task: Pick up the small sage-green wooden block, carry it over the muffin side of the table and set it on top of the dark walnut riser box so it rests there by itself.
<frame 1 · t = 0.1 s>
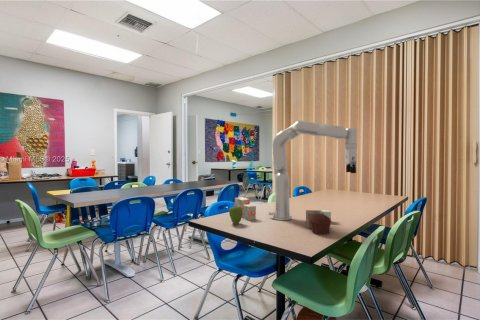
hand: (350, 172, 178), 31 cm above the table, tool pointing down, fingers open, 9 cm apart
sage block: (325, 221, 174), on the table
riser box: (314, 226, 162), on the table
muffin: (320, 233, 150), on the table
stack of blocks: (244, 217, 190), on the table
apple: (235, 224, 171), on the table
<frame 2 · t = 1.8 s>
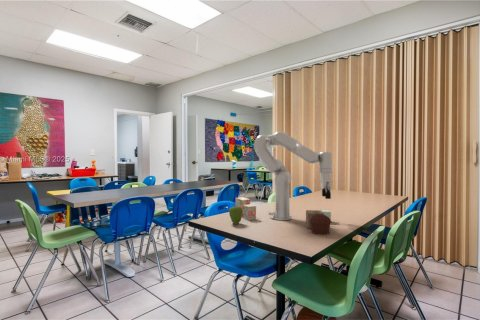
hand: (326, 197, 174), 16 cm above the table, tool pointing down, fingers open, 9 cm apart
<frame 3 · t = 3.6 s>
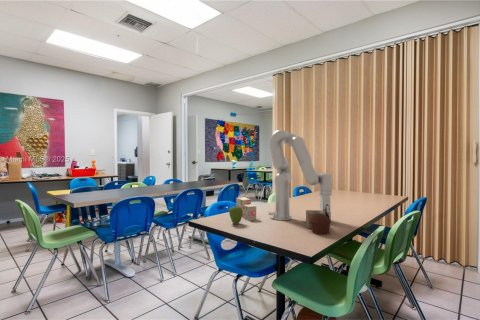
hand: (325, 220, 174), 1 cm above the table, tool pointing down, fingers closed on sage block, 5 cm apart
sage block: (325, 221, 174), on the table, touching gripper
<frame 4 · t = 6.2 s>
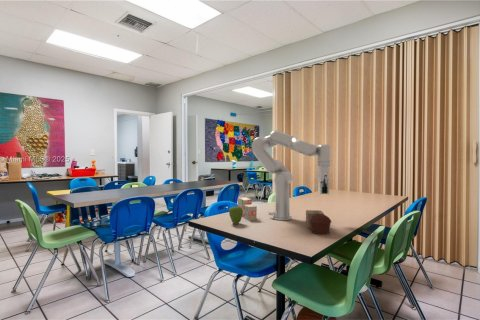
hand: (323, 192, 172), 19 cm above the table, tool pointing down, fingers closed on sage block, 5 cm apart
sage block: (323, 193, 172), point 18 cm above the table, touching gripper
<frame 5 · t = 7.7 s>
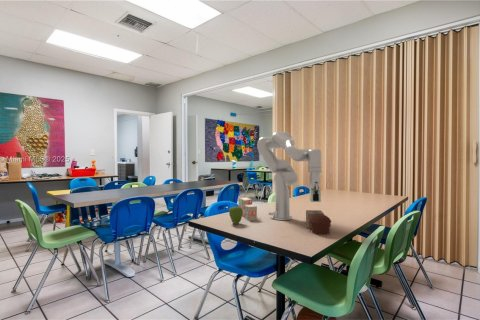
hand: (315, 199, 161), 16 cm above the table, tool pointing down, fingers closed on sage block, 5 cm apart
sage block: (315, 201, 161), point 16 cm above the table, touching gripper
when the fingers open (11 cm above the table, at t = 9.0 s): sage block drops 1 cm, resting on riser box.
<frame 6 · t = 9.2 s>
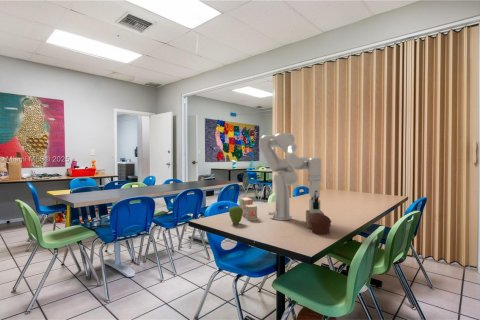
hand: (314, 207, 162), 12 cm above the table, tool pointing down, fingers open, 7 cm apart
sage block: (314, 211, 162), point 9 cm above the table, touching riser box
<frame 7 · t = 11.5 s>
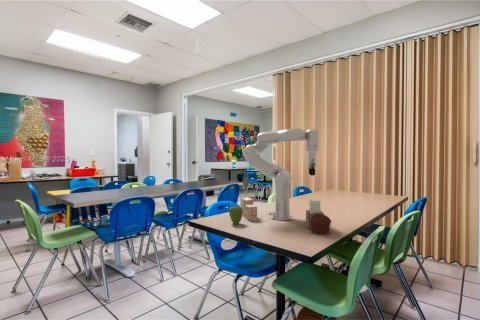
hand: (311, 174, 176), 30 cm above the table, tool pointing down, fingers open, 9 cm apart
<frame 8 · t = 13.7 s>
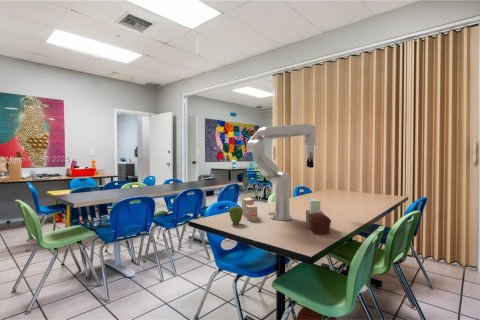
hand: (310, 167, 191), 34 cm above the table, tool pointing down, fingers open, 9 cm apart
at the end: sage block 0.1 cm off-centre on the riser box, point 9.0 cm above the riser box's base; sage block tilted 0°; the gripper is holding nothing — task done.
